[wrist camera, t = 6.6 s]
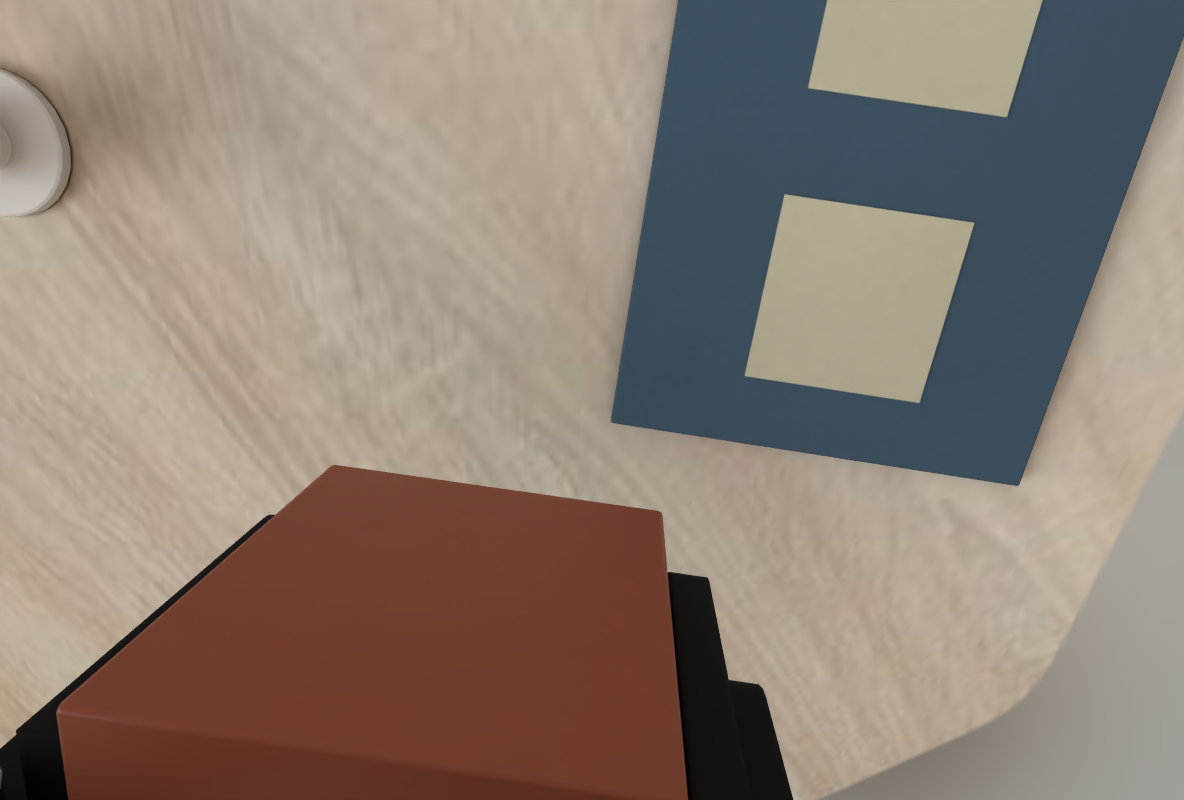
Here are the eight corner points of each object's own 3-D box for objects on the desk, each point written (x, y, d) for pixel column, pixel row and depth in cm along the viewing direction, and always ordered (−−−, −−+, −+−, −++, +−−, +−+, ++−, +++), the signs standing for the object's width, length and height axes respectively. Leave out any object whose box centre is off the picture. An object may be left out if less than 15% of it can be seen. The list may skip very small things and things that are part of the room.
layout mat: (1254, -192, 20) (1276, -206, 19) (1010, 480, 26) (1020, 487, 25) (721, -266, 20) (724, -282, 19) (611, 418, 26) (610, 423, 26)
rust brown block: (662, 510, 9) (692, 817, 4) (616, 772, 10) (604, 1211, 6) (332, 462, 9) (37, 717, 5) (329, 729, 10) (99, 1127, 6)
